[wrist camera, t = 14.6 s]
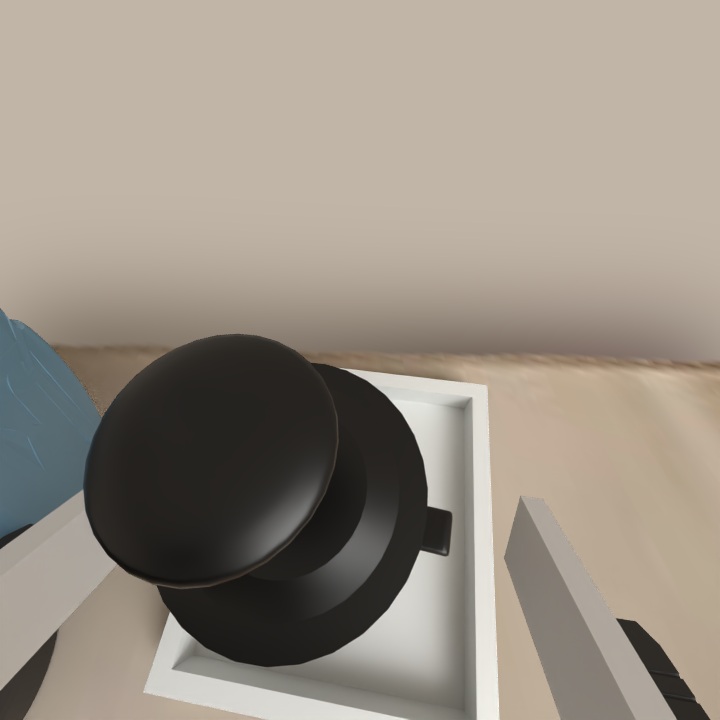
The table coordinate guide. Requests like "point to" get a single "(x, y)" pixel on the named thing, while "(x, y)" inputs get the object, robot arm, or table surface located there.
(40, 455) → the robot arm
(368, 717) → the tray
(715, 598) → the table surface
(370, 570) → the french press
